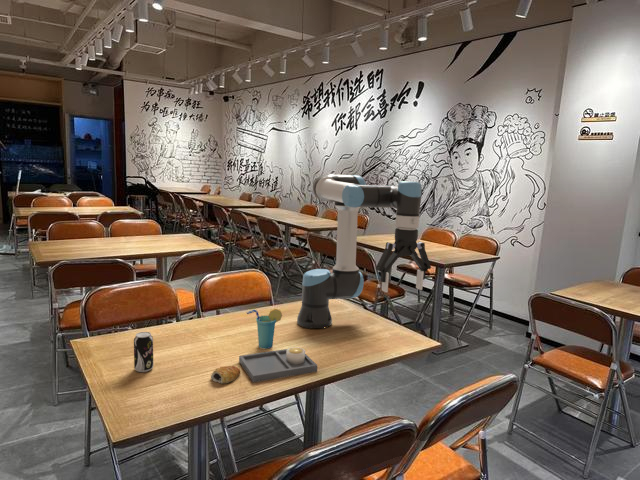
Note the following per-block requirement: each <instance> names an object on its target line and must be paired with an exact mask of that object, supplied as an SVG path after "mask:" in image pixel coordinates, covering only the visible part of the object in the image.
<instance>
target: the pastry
mask: <svg viewBox="0 0 640 480" xmlns="http://www.w3.org/2000/svg"><path fill="white" fill-rule="evenodd" d="M240 376H241V369H240V368H239V367H237V366H235V365H232V366H231V365H227V366H220V367H219V368H218V367H217V368H215V370H213V372H212V373H211V375H210V379H211V380H212V381H213V382H215V383H218V384H222V385H223V384H225V385H226V384H229V383H230V382H233V381H235V380H236V379H238V378H239V377H240Z"/></svg>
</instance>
